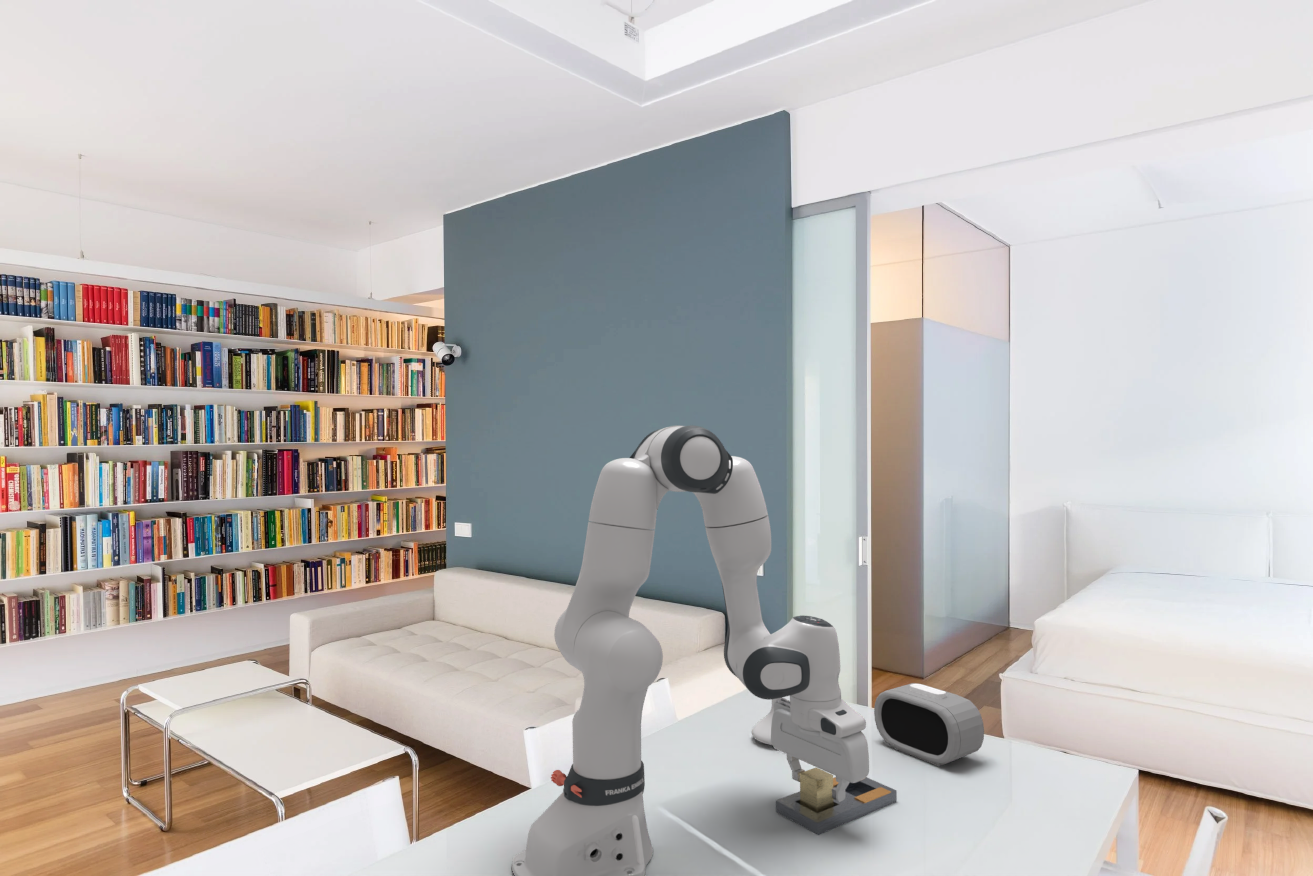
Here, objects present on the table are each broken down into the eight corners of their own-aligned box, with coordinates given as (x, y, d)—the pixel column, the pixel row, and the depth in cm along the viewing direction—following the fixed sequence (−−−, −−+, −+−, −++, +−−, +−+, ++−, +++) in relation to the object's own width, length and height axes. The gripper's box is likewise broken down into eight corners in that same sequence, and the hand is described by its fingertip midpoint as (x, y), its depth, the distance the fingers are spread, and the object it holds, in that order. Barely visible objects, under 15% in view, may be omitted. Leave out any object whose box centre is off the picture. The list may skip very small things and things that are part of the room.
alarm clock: (873, 742, 169) (872, 681, 169) (902, 733, 174) (900, 673, 174) (955, 775, 152) (954, 707, 152) (984, 764, 157) (983, 697, 157)
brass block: (817, 822, 132) (816, 781, 132) (800, 813, 135) (799, 773, 135) (833, 815, 134) (833, 775, 134) (816, 807, 137) (816, 767, 137)
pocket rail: (818, 841, 128) (817, 821, 128) (776, 817, 136) (775, 799, 136) (896, 807, 139) (896, 789, 139) (853, 787, 147) (853, 770, 147)
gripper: (761, 698, 142) (763, 774, 142) (848, 731, 125) (850, 817, 125) (786, 691, 145) (788, 765, 145) (873, 722, 128) (876, 805, 128)
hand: (818, 789), depth 135 cm, fingers open, 8 cm apart
